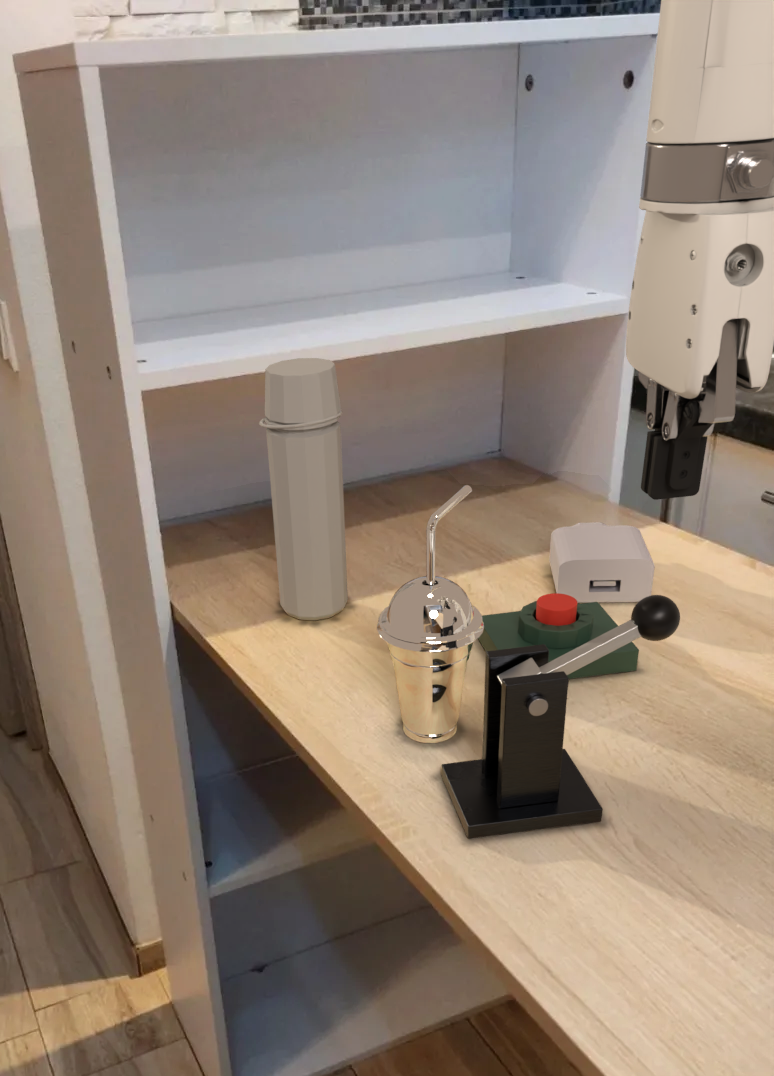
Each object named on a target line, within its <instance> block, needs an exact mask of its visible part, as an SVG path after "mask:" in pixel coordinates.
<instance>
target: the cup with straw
mask: <svg viewBox="0 0 774 1076" xmlns="http://www.w3.org/2000/svg"><path fill="white" fill-rule="evenodd" d="M472 492H473V489H472V487H471V485H468V484H466V485H463V487H461V488H460V489H459V490H458V491H457V492H456V493H455V494H454V495H453V496H452V497H450V498H449V499H448V500H447V501H446V502H445V503H443V504H442V505H441V506H440V507H439V508H438V509H436V511H434V512H433V513H432V514H431V516H430V517H429V518H428V521H427V524H426V529H425V535H426V536H425V576H419V577H416V578H413V579H411V580H409V581H407V582H405V583H404V584H402V585H401V586H400V587H399V588H398V589H397V590H396V591H395V592H394V594H393V596H392V598H391V599H390V602H389V603H388V606H386V607H385V608H384V609H383V610H382V611H381V612H380V614H379V616H378V622H377V624H376V631H377V634H378V636H379V637H380V638H381V640H383V641H384V642H386V643H387V648H388V651H389V656H390V659H391V661H392V663H393V664H392V665H393V670H394V678H395V685H396V691H397V692H396V693H397V697H398V704H399V712H400V718H401V721H402V722H403V725H402V731H403V733H404V734H405V736H407V737H408V738H409V739H411V740H413V741H415V742H418V743H419V742H420V743H425V744H436V743H442V742H445V741H447V740H449V739H451V738H452V737H454V736H455V735H456V733H457V731H458V730H457V729H458V726H457V722H458V721H459V717H460V711H461V704H462V699H463V692H464V685H465V678H466V671H467V665H468V661H469V659H470V656H471V651H472V649H473V646H474V645H473V644H474V643H475V642H476V641H477V640H479V639H478V638H479V637H480V636H481V634H482V633H483V629H484V624H483V621H482V613H481V611H480V610H479V609H478V608H477V607H476V606H475V605H473V603H472V602H471V599H470V598H469V596H468V594H467V592H466V590H464V589H463V588H462V587H461V586H460V585H459V584H458V583H457V582H456V581H455V582H454V581H453V580H451V579H450V578H449V579H448V578H447V577H443V576H439V575H436V529H437V526H438V523H439V522H440V520H442V519H443V518H444V517H445V516H447V514H449V512H451V511H452V510H453V509H454V508H455V507H456V506H457V505H458V504H460V503H461V502H462V501H463V500H465V498H466V497H468V496H469V494H471V493H472Z"/></svg>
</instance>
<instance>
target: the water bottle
mask: <svg viewBox="0 0 774 1076" xmlns="http://www.w3.org/2000/svg"><path fill="white" fill-rule="evenodd" d="M342 415H343V411H342V405H341V398H340V391H339V384H338V377H337V369H336V363H335V362H333V361H332V360H330V359H325V358H319V357H299V358H292V359H284V360H279V361H277V362H273V363H271V364H269V365H268V366H267V367H266V368H265V370H264V416H265V417H263V418H261V419H260V420H259V422H258V425H259V426H261V427H262V428H266V429H265V431H266V432H265V434H266V444H267V457H268V469H269V483H270V494H271V507H272V519H273V531H274V541H275V542H274V544H275V545H274V546H275V555H276V567H277V569H276V570H277V579H278V592H279V593H278V594H279V604H280V606H281V608H282V609H283V611H284V612H285V613H286V614H287V616H288V617H289V616H290V617H292V618H295V619H297V620H302V621H319V620H324V619H330V618H332V617H334V616H336V615H337V614H339V613H341V612H342V611H343V610H344V609H345V608H346V605H347V603H348V600H349V594H348V593H349V592H348V591H349V590H348V569H347V567H348V566H347V545H346V520H345V501H344V500H345V499H344V498H345V497H344V474H343V473H344V472H343V453H342V450H343V449H342V429H341V428H342V427H341V425H342V424H341V422H339V419H340V418H341V416H342Z"/></svg>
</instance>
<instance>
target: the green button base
mask: <svg viewBox="0 0 774 1076" xmlns="http://www.w3.org/2000/svg"><path fill="white" fill-rule="evenodd" d="M536 606H537V600H534V601H532V602H530V603H528V604H526V605H523V606H522V609H521V610H516V611H507V612H500V613H492V614H483V615H482V614H481V615H482V621H483V624H484V629H483V633H482V634H481V636H480V637H479V638H478V639H477V640H478V641H479V643H480V644H481V646H482V648H483V650H484V651H485V652H486V651H493V650H502V649H510V648H518V647H526V646H534V645H543V644H545V645H546V647H547V648H548V650H549V659H548V663H549V662H551V661H552V660H554V659H556V658H558V657H560V656H562V655H564V654H566V653H568V652H570V651H572V650H574V649H575V648H577V647H579V646H581V645H583V644H585V643H587V642H589V641H591V640H593V639H595V638H597V637H598V636H600V635H602V634H604V633H606V632H608V631H610V630H612V629H614V628H616V627H618V626H619V625H618V624H617V623H616V621H615V620H614V619H613V618H612V617H611V615H609V613H608V612H607V611H606V609H604V607H603V606H602V605H601V604H600V602H582V603H577V614H576V621H575V622H574V623H571V624H569V625H561V626H556V625H547V624H544V623H541V622H539V621H537V620H536ZM639 653H640V648H638V646H636V644H635V643H634V641H632V642H630V643H628V644H626V645H624V646H622V647H620V648H618V649H617V650H615V651H613V652H611V653H609V654H607V655H605V656H603V657H601V658H599V659H597V660H595V661H593V662H591V663H589V664H588V665H586V666H584V667H582V668H580V669H578V670H576V671H574V672H572V673H570V674H568V675H567V676H568V678H569V680H571V679H579V678H588V677H595V676H596V677H597V676H605V675H613V674H621V673H628V672H636V671H637V670H638V661H639Z"/></svg>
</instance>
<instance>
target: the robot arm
mask: <svg viewBox="0 0 774 1076" xmlns="http://www.w3.org/2000/svg"><path fill="white" fill-rule="evenodd" d="M658 17H659V18H658V20H659V21H658V28H657V37H656V47H655V54H654V55H655V57H654V64H653V65H654V66H653V73H652V84H651V92H650V102H649V111H648V121H647V128H646V130H647V131H646V139H645V142H646V143H645V148H644V158H643V167H642V177H641V186H640V197H639V203H638V209H639V210H640V211H641V210H642V211H645V213H644V218H643V223H642V227H641V232H640V236H639V237H640V238H639V244H638V247H637V252H636V253H637V254H636V259H635V265H634V266H635V267H634V270H633V271H634V272H633V277H632V283H631V289H630V297H629V306H628V312H627V313H628V314H627V322H626V323H627V324H626V335H625V337H626V338H625V356H626V359H627V362H628V363H629V365H630V366H631V367H632V368H633V369H634V370H636V371H637V373H638V374H637V375H638V380H639V382H640V384H642V386H643V387H644V388H645V391H646V394H647V395H646V409H645V413H646V414H645V424H646V428H647V429H648V430H649V431H647V433H646V440H645V448H644V449H645V450H644V457H643V466H642V474H641V482H640V489H641V491H642V492H644V494H646V495H648V497H650V498H651V499H652V500H654V501H657V500H666V499H667V500H668V499H677V498H685V497H686V498H687V497H694V496H696V495H698V493H699V492H700V487H701V481H702V475H703V468H704V462H705V456H706V449H707V442H708V437H710V436H711V435H712V434H713V431H714V427H715V425H716V424H718V423H727V422H733V421H734V418H735V414H736V404H737V403H736V400H737V390H740V391H742V392H745V393H749V394H753V393H758V392H760V391H762V389H763V388H765V386H766V385H767V382H768V378H769V374H770V370H771V364H772V358H773V353H774V352H773V351H774V0H660V9H659V16H658Z"/></svg>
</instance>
